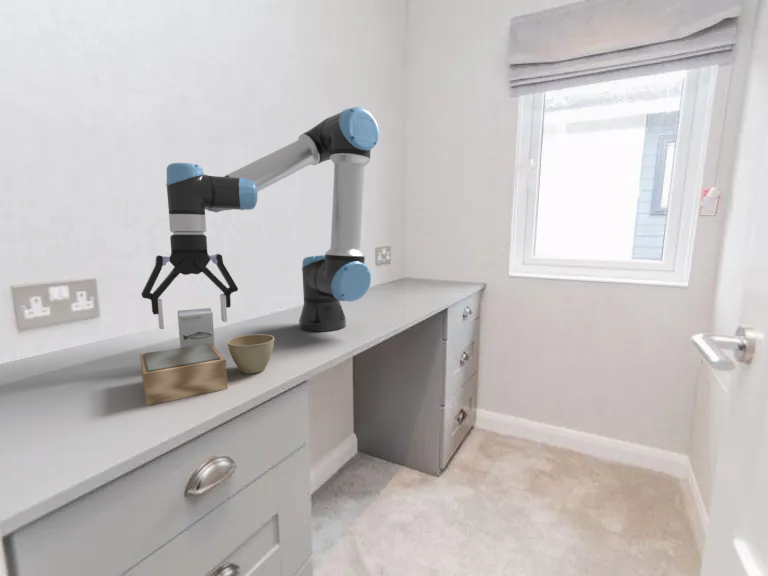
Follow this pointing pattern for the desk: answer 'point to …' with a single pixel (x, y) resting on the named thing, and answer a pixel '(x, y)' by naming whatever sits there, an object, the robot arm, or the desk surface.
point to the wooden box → (182, 373)
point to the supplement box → (195, 327)
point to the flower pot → (251, 352)
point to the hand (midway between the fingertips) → (194, 324)
